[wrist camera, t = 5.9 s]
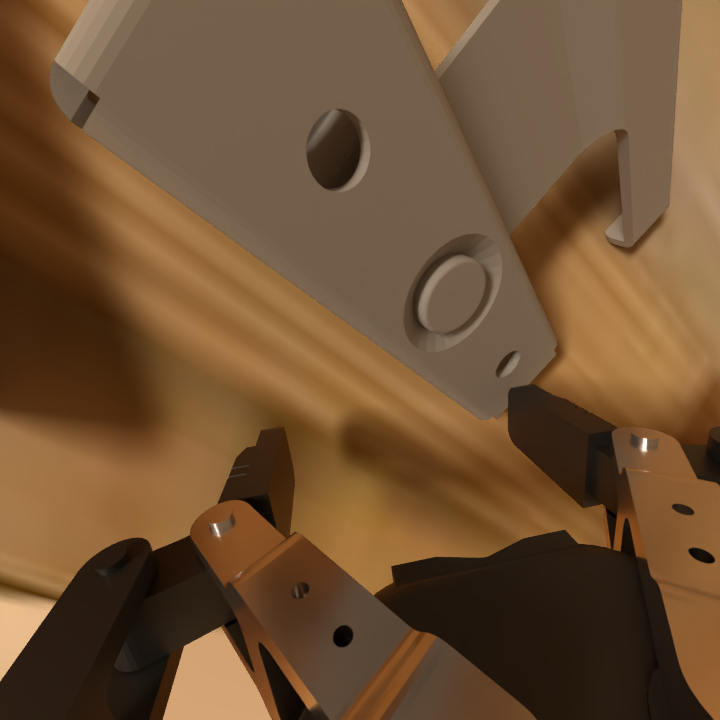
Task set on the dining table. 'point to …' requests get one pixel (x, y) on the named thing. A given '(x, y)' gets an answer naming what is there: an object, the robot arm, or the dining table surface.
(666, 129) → the bracket
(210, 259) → the dining table surface
